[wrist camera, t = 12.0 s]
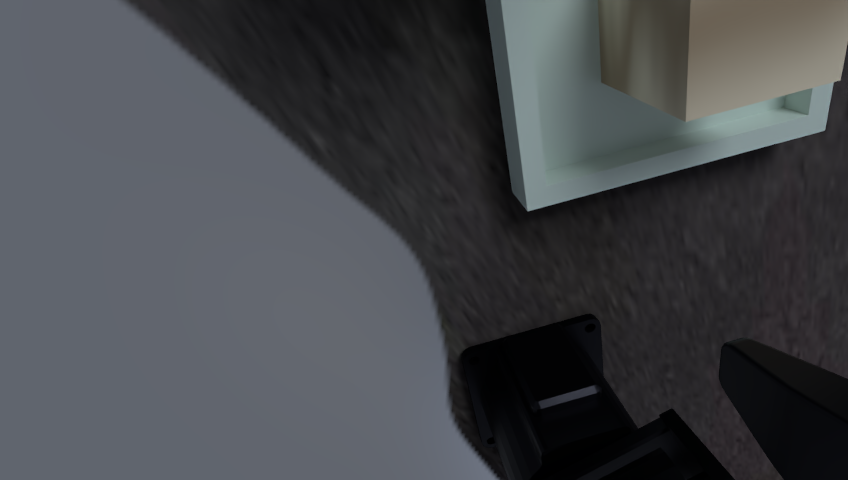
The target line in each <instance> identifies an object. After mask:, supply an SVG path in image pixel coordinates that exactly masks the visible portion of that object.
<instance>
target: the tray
mask: <svg viewBox="0 0 848 480" xmlns="http://www.w3.org/2000/svg"><path fill="white" fill-rule="evenodd" d="M485 1H486V9H487V16H488V23H489V30H490V37H491V44H492V51H493V59H494V66H495V73H496V80H497V87H498V94H499V101H500V109H501V116H502V123H503V130H504V137H505V144H506V151H507V159H508V166H509V173H510V180H511V187H512V192H513V194H514V195H515V196H516V197H517V199H518V200H519V201H520V203H521V204H522V205H523V206H524V208H525V209H526V210H527V211H531V210H535V209H539V208H542V207H546V206H550V205H553V204H557V203H561V202H564V201H568V200H572V199H575V198H579V197H583V196H586V195H590V194H594V193H597V192H601V191H605V190H608V189H612V188H616V187H619V186H623V185H627V184H630V183H634V182H638V181H641V180H645V179H649V178H652V177H656V176H660V175H663V174H667V173H671V172H674V171H678V170H682V169H685V168H689V167H693V166H697V165H700V164H704V163H708V162H711V161H715V160H719V159H722V158H726V157H730V156H733V155H737V154H741V153H744V152H748V151H752V150H755V149H759V148H763V147H766V146H770V145H774V144H777V143H781V142H785V141H788V140H792V139H796V138H799V137H803V136H807V135H810V134H814V133H818V132H821V131H825V128H826V122H827V117H828V111H829V106H830V100H831V94H832V89H833V83H834V82H832V83H829V84H825V85H821V86H818V87H814V88H810V89H806V90H803V91H799V92H795V93H792V94H788V95H784V96H780V97H777V98H773V99H769V100H765V101H762V102H758V103H754V104H751V105H747V106H743V107H739V108H736V109H732V110H728V111H725V112H721V113H717V114H713V115H710V116H706V117H702V118H699V119H695V120H691V121H687V122H685V121H683V120H680V119H678V118H676V117H674V116H672V115H670V114H668V113H665V112H663V111H661V110H659V109H657V108H655V107H653V106H650V105H648V104H646V103H644V102H642V101H640V100H638V99H635V98H633V97H631V96H629V95H627V94H625V93H623V92H620V91H618V90H616V89H614V88H612V87H610V86H608V85H605V84H603V83H601V65H600V41H599V17H598V0H485Z"/></svg>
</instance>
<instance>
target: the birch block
mask: <svg viewBox="0 0 848 480" xmlns="http://www.w3.org/2000/svg"><path fill="white" fill-rule="evenodd" d="M598 17H599V41H600V65H601V83H603V84H605V85H608V86H610V87H612V88H614V89H616V90H618V91H620V92H623V93H625V94H627V95H629V96H631V97H633V98H635V99H638V100H640V101H642V102H644V103H646V104H648V105H650V106H653V107H655V108H657V109H659V110H661V111H663V112H665V113H668V114H670V115H672V116H674V117H676V118H678V119H680V120H683V121H685V122H687V121H691V120H695V119H699V118H702V117H706V116H710V115H713V114H717V113H721V112H725V111H728V110H732V109H736V108H739V107H743V106H747V105H751V104H754V103H758V102H762V101H765V100H769V99H773V98H777V97H780V96H784V95H788V94H792V93H795V92H799V91H803V90H806V89H810V88H814V87H818V86H821V85H825V84H829V83H832V82H836V81H840V80H841V75H842V70H843V64H844V59H845V54H846V48H847V43H848V0H598Z"/></svg>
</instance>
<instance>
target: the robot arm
mask: <svg viewBox="0 0 848 480" xmlns="http://www.w3.org/2000/svg"><path fill="white" fill-rule="evenodd" d="M588 324H590V326H588V327H586V326H587V325H588ZM472 357H476V358H474V359H470V358H472ZM462 362H463V367H464V371H465V375H466V379H467V384H468V388H469V392H470V396H471V401H472V405H473V409H474V413H475V418H476V422H477V426H478V430H479V435H480V438H481V441H482V444H483V446H485V447H487V448H491V447H496V446H497V449H498V452H499V455H500V458H501V460H502V463H503V466H504V469H505V472H506V475H507V477H508V480H735V479H734V478H733V477H732V476H731V475H730V474H729V472H728V471H727V470H726V469H725V468H724V467H723V466H722V465H721V463H720V462H719V461H718V460H717V459H716V458H715V457H714V455H713V454H712V453H711V452H710V451H709V450H708V449H707V447H706V446H705V445H704V444H703V443H702V442H701V441H700V439H699V438H698V437H697V436H696V435H695V434H694V433H693V431H692V430H691V429H690V428H689V427H688V426H687V425H686V423H685V422H684V421H683V420H682V419H681V418H680V417H679V415H678V414H677V413H676V412H675V411H674V410H673V409H672V408H671V409H669V410H668V411H666V412H664V413H662V414H660V415H659V416H660V418H658V419H656V420H654V421H652V422H650V423H648V424H647V425H645V426H643V427H641V428H639V429H638V427H637V426H636V424H635V423H634V421H633V420H632V418H631V417H630V415H629V414H628V412H627V411H626V409H625V408H624V406H623V405H622V403H621V402H620V400H619V399H618V397H617V396H616V394H615V393H614V391H613V390H612V388H611V387H610V385H609V384H608V382H607V381H606V379H605V378H604V376H603V359H602V340H601V324H600V322H599V320H598V319H597V318H596V317H595V316H594V315H592V314H585V315H582V316H578V317H575V318H571V319H568V320H564V321H561V322H557V323H553V324H550V325H546V326H543V327H539V328H536V329H532V330H529V331H525V332H522V333H518V334H515V335H511V336H507V337H504V338H500V339H497V340H493V341H490V342H486V343H483V344H479V345H476V346H472V347H469V348H467V349H466V350H464V351H463V353H462ZM719 380H720V383H721V386H722V388H723V389H724V391H725V393H726V394H727V396H728V397H729V399H730V400H731V402H732V403H733V405H734V406H735V408H736V410H737V411H738V413H739V414H740V416H741V417H742V419H743V420H744V422H745V423H746V425H747V427H748V428H749V430H750V431H751V433H752V434H753V436H754V437H755V439H756V440H757V442H758V443H759V445H760V447H761V448H762V450H763V451H764V453H765V454H766V456H767V457H768V458H769V460H770V461H771V463H772V464H773V466H774V467H775V468H776V470H777V471H778V472H779V474H780V475H781V476H782V478H783V479H784V480H848V379H847V378H844V377H842V376H840V375H837V374H835V373H832V372H830V371H827V370H825V369H823V368H820V367H818V366H815V365H813V364H811V363H808V362H806V361H803V360H801V359H798V358H796V357H794V356H791V355H789V354H786V353H784V352H782V351H779V350H777V349H774V348H772V347H770V346H767V345H765V344H762V343H760V342H757V341H755V340H753V339H750V338H740V339H737V340H733V341H730V342H726V343H725V344H724V345H723V346H722V349H721V358H720V368H719Z"/></svg>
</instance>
